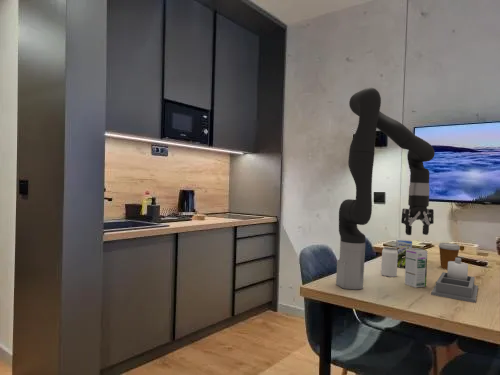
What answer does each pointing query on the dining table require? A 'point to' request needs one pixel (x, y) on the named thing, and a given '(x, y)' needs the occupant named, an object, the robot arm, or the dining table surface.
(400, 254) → the passion flower
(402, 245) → the medicine box
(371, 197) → the robot arm
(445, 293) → the housing
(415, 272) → the syrup box
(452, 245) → the disposable coffee cup
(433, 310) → the dining table surface
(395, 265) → the can
